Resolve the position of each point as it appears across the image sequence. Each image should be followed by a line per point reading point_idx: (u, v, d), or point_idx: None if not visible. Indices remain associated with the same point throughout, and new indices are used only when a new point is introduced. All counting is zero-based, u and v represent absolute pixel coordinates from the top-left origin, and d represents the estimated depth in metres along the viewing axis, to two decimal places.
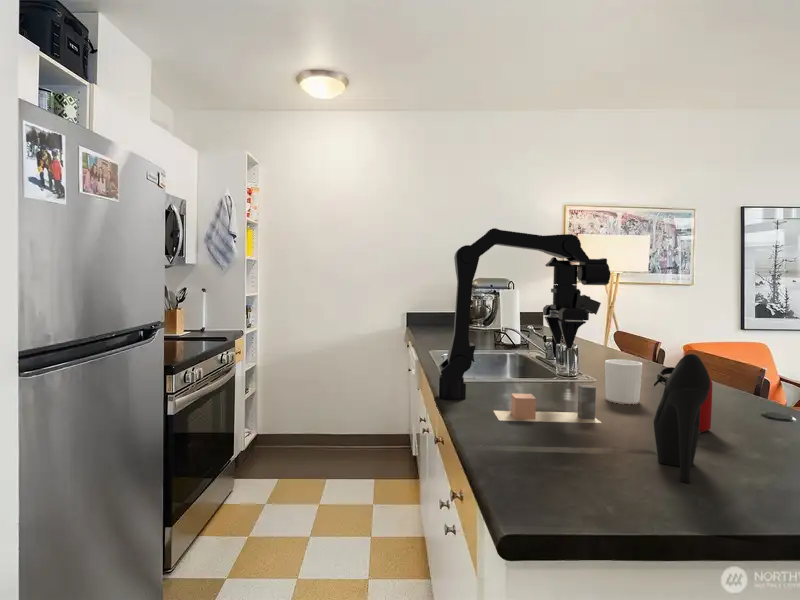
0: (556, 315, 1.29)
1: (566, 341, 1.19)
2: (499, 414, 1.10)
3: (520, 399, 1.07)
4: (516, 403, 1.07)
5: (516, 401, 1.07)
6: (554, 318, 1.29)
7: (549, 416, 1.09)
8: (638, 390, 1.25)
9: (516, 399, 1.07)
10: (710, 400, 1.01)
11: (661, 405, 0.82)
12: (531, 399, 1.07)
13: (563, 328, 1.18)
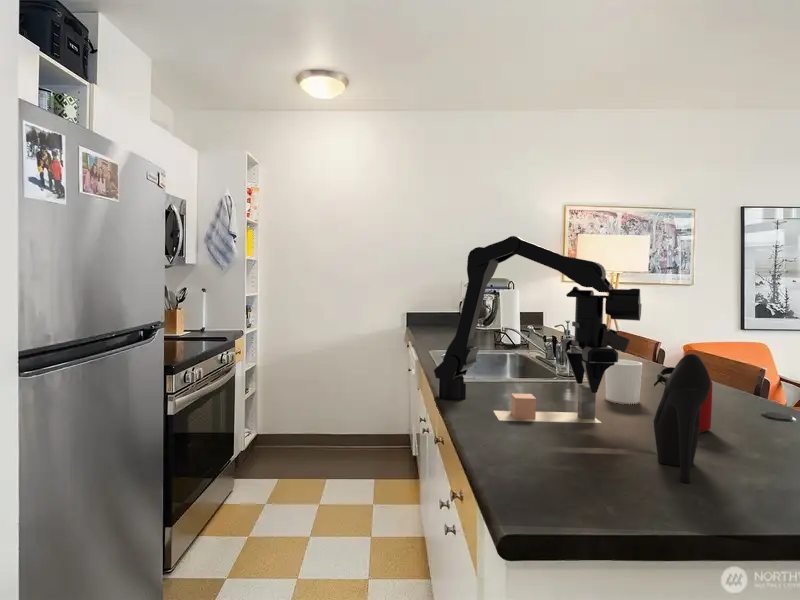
0: (577, 351, 1.14)
1: (591, 384, 1.03)
2: (499, 414, 1.10)
3: (520, 399, 1.07)
4: (516, 403, 1.07)
5: (516, 401, 1.07)
6: (575, 354, 1.14)
7: (549, 416, 1.09)
8: (638, 390, 1.25)
9: (516, 399, 1.07)
10: (710, 400, 1.01)
11: (661, 405, 0.82)
12: (531, 399, 1.07)
13: (588, 370, 1.02)
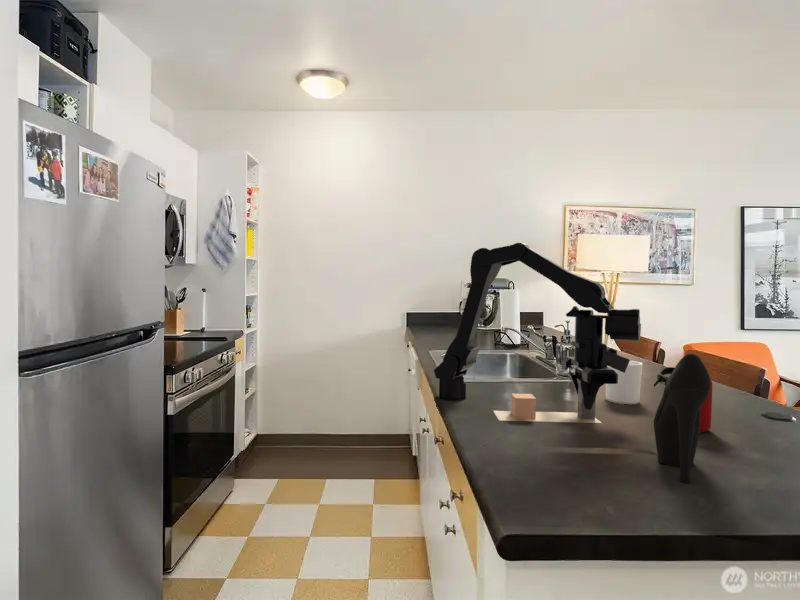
0: (582, 372, 1.11)
1: (585, 401, 1.07)
2: (499, 414, 1.10)
3: (520, 399, 1.07)
4: (516, 403, 1.07)
5: (516, 401, 1.07)
6: (579, 376, 1.11)
7: (549, 416, 1.09)
8: (638, 390, 1.25)
9: (516, 399, 1.07)
10: (710, 400, 1.01)
11: (661, 405, 0.82)
12: (531, 399, 1.07)
13: (582, 387, 1.05)
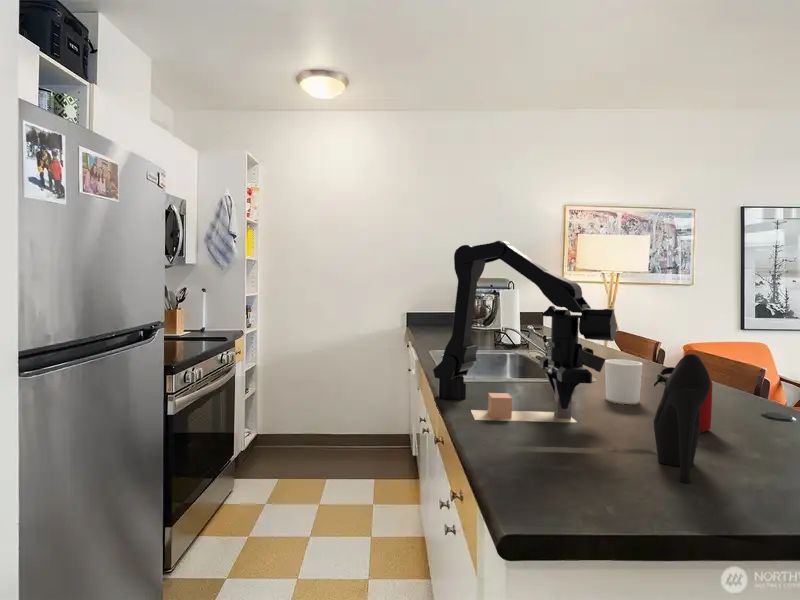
0: None
1: (561, 401, 1.07)
2: (476, 413, 1.10)
3: (496, 398, 1.07)
4: (492, 402, 1.07)
5: (492, 400, 1.07)
6: (556, 375, 1.11)
7: (526, 415, 1.09)
8: (638, 390, 1.25)
9: (492, 398, 1.07)
10: (710, 400, 1.01)
11: (661, 405, 0.82)
12: (507, 398, 1.07)
13: (558, 387, 1.06)
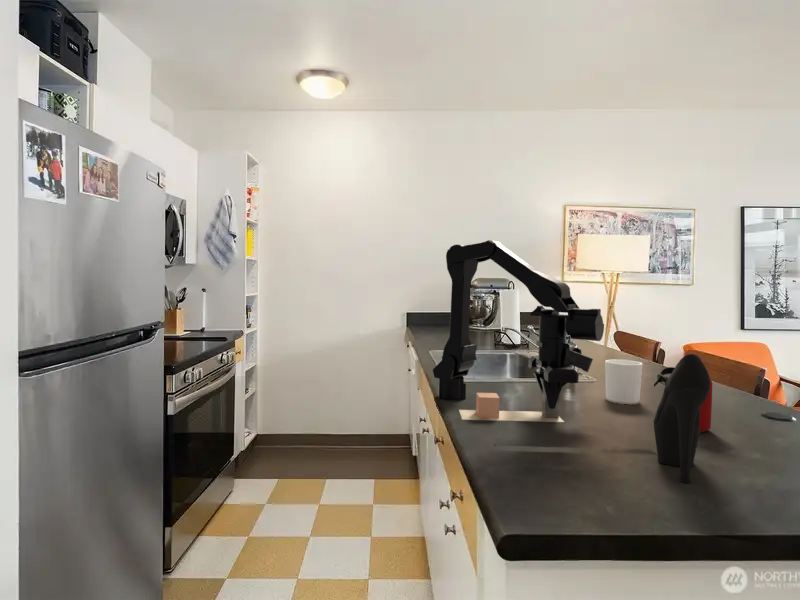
0: None
1: (549, 401, 1.07)
2: (464, 413, 1.10)
3: (484, 398, 1.07)
4: (480, 402, 1.07)
5: (480, 400, 1.07)
6: (544, 375, 1.11)
7: (513, 415, 1.09)
8: (638, 390, 1.25)
9: (480, 398, 1.07)
10: (710, 400, 1.01)
11: (661, 405, 0.82)
12: (495, 398, 1.07)
13: (545, 387, 1.06)
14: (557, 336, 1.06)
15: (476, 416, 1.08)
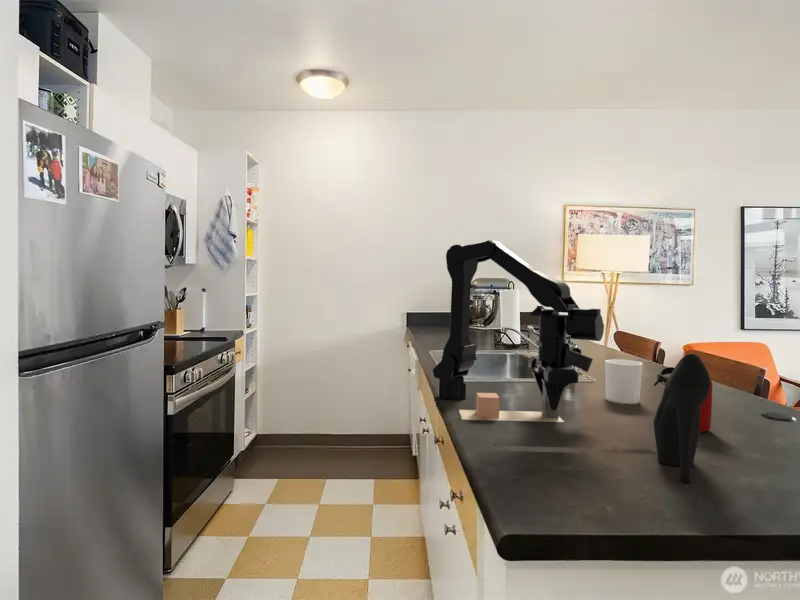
0: None
1: (550, 402, 1.06)
2: (464, 413, 1.10)
3: (484, 398, 1.07)
4: (480, 402, 1.07)
5: (480, 400, 1.07)
6: (542, 374, 1.12)
7: (513, 415, 1.09)
8: (638, 390, 1.25)
9: (480, 398, 1.07)
10: (710, 400, 1.01)
11: (661, 405, 0.82)
12: (495, 398, 1.07)
13: (547, 388, 1.04)
14: (557, 336, 1.06)
15: (476, 416, 1.08)
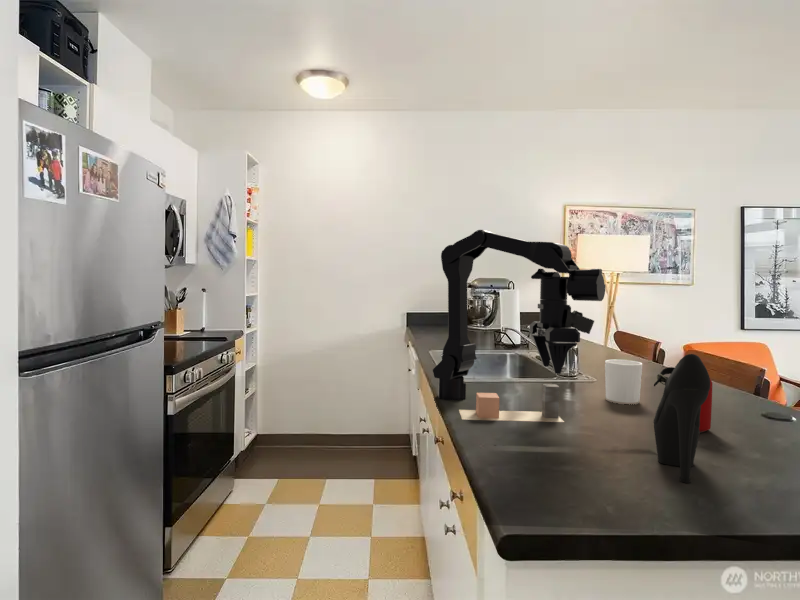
0: (544, 333, 1.14)
1: (554, 365, 1.03)
2: (464, 413, 1.10)
3: (484, 398, 1.07)
4: (480, 402, 1.07)
5: (480, 400, 1.07)
6: (542, 337, 1.14)
7: (513, 415, 1.09)
8: (638, 390, 1.25)
9: (480, 398, 1.07)
10: (710, 400, 1.01)
11: (661, 405, 0.82)
12: (495, 398, 1.07)
13: (551, 351, 1.02)
14: (558, 297, 1.05)
15: (476, 416, 1.08)
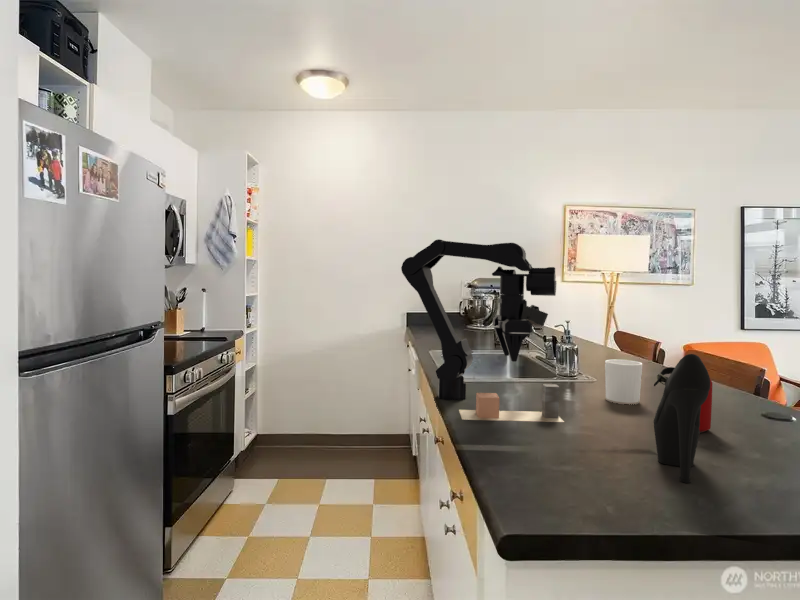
0: None
1: (511, 354, 1.15)
2: (464, 413, 1.10)
3: (484, 398, 1.07)
4: (480, 402, 1.07)
5: (480, 400, 1.07)
6: (503, 329, 1.25)
7: (513, 415, 1.09)
8: (638, 390, 1.25)
9: (480, 398, 1.07)
10: (710, 400, 1.01)
11: (661, 405, 0.82)
12: (495, 398, 1.07)
13: (507, 340, 1.13)
14: (518, 293, 1.17)
15: (476, 416, 1.08)
